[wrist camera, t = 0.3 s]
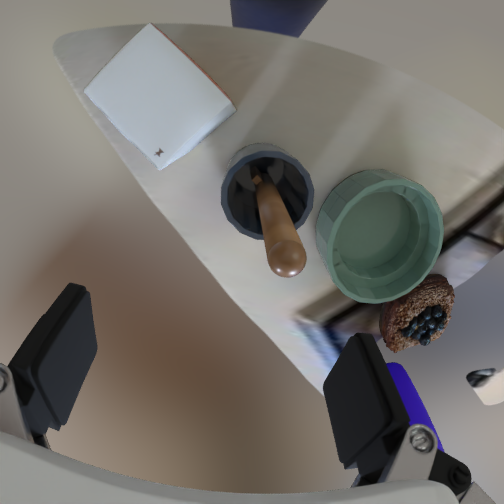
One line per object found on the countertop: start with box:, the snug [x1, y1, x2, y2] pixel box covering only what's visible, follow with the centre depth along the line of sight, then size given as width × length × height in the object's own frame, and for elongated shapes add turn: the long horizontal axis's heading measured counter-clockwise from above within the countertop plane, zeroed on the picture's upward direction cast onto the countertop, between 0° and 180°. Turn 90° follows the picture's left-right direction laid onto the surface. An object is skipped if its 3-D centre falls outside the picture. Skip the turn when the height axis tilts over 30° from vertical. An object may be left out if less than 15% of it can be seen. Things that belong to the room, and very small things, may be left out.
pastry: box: [379, 274, 455, 353], centre depth 36 cm, size 11×12×6 cm
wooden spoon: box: [250, 166, 307, 277], centre depth 21 cm, size 2×3×19 cm, turn 42°
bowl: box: [316, 169, 444, 304], centre depth 31 cm, size 14×14×6 cm
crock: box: [221, 143, 314, 240], centre depth 27 cm, size 7×7×8 cm
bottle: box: [386, 362, 445, 453], centre depth 32 cm, size 8×8×30 cm
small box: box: [84, 23, 237, 170], centre depth 21 cm, size 8×6×13 cm
